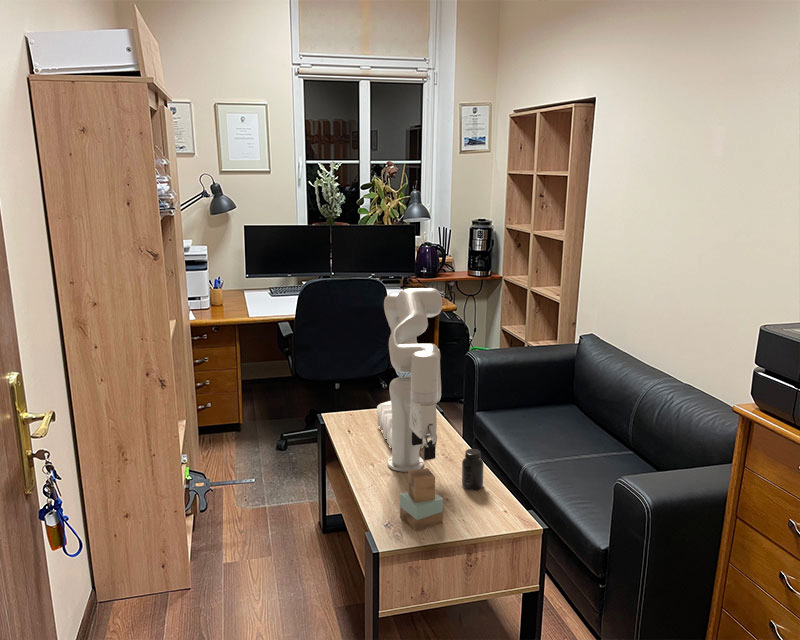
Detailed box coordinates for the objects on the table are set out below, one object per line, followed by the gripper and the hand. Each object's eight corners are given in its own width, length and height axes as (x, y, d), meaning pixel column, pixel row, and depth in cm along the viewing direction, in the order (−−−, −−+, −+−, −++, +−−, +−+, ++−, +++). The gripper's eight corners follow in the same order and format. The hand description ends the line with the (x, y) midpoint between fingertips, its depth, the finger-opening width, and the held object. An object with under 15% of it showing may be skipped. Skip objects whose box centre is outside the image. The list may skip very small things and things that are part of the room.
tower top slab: (399, 506, 190) (400, 493, 189) (425, 498, 195) (425, 486, 194) (417, 520, 183) (417, 507, 182) (443, 511, 187) (443, 498, 187)
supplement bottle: (469, 479, 215) (470, 445, 213) (486, 485, 211) (488, 450, 209) (457, 486, 210) (458, 452, 208) (475, 493, 206) (476, 457, 203)
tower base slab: (400, 518, 191) (400, 505, 191) (425, 510, 196) (425, 498, 195) (416, 532, 184) (416, 519, 183) (442, 523, 188) (442, 511, 187)
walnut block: (408, 493, 190) (408, 470, 188) (427, 490, 192) (427, 468, 190) (415, 502, 184) (415, 480, 183) (434, 499, 186) (435, 476, 184)
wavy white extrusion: (374, 420, 267) (374, 396, 264) (414, 418, 270) (414, 393, 267) (389, 456, 233) (389, 428, 231) (434, 452, 236) (434, 425, 234)
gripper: (401, 386, 188) (400, 441, 192) (422, 407, 172) (421, 467, 176) (425, 383, 190) (424, 437, 195) (448, 404, 174) (447, 463, 179)
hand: (423, 451), depth 185 cm, fingers open, 9 cm apart
